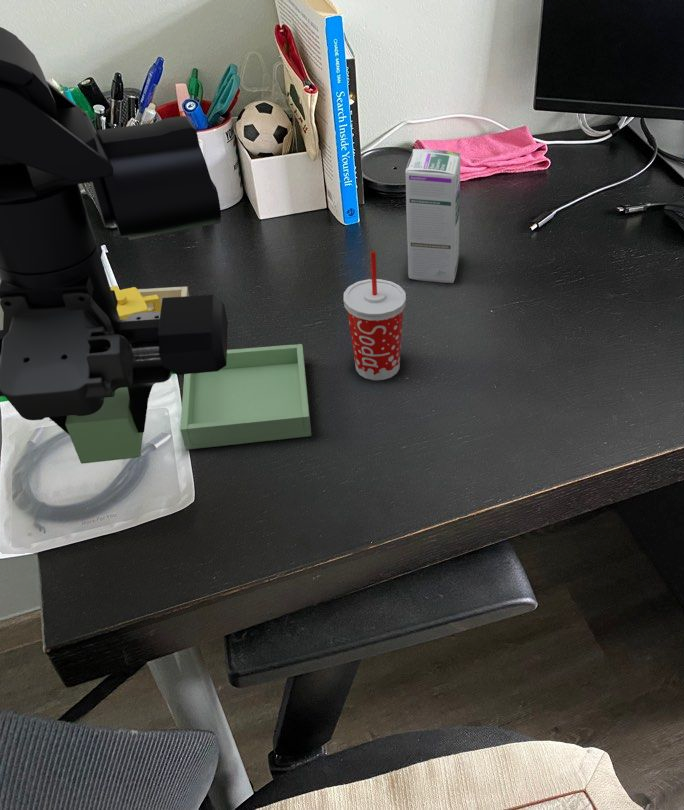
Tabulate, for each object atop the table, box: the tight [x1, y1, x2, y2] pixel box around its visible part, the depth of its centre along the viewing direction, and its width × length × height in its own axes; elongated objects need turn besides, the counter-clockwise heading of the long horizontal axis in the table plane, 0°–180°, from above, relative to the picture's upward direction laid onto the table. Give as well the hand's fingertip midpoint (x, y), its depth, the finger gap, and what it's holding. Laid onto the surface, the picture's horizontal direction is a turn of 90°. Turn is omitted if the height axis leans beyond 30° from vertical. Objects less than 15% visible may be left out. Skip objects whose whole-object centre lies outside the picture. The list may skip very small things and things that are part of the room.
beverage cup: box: [343, 250, 407, 381], centre depth 82 cm, size 6×6×14 cm
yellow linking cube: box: [110, 285, 161, 320], centre depth 84 cm, size 8×6×5 cm
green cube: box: [65, 387, 144, 465], centre depth 60 cm, size 4×4×4 cm
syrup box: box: [404, 148, 462, 284], centre depth 97 cm, size 6×6×14 cm
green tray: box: [179, 343, 312, 451], centre depth 80 cm, size 11×11×3 cm
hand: (110, 432), depth 61 cm, fingers closed on green cube, 4 cm apart
